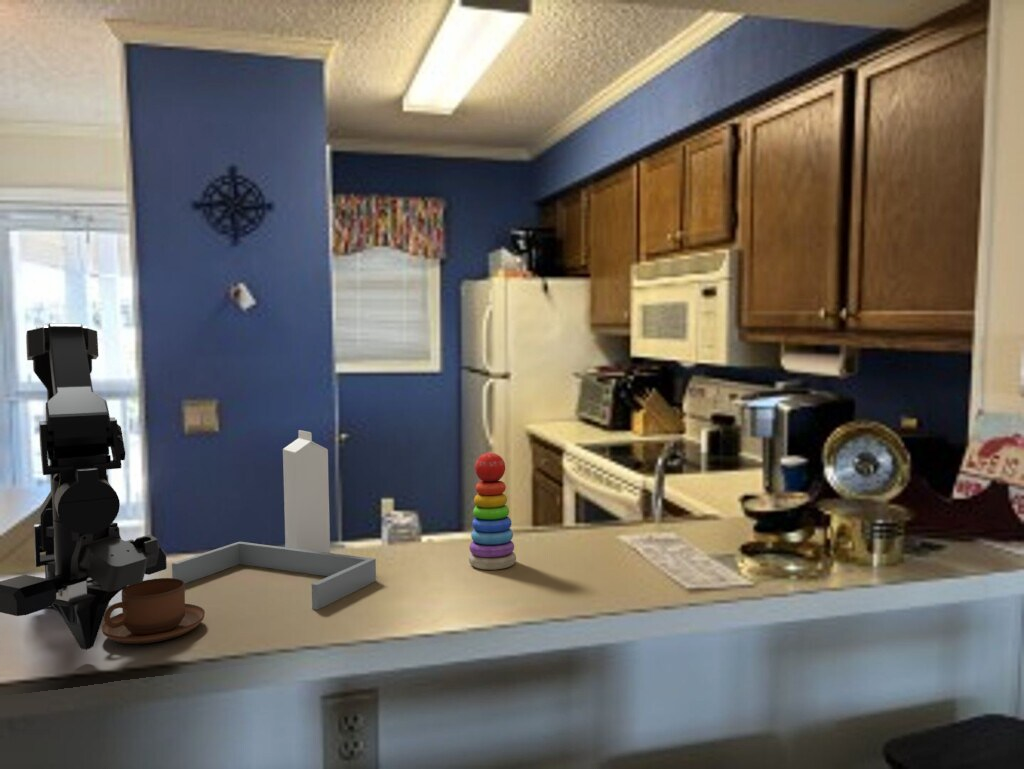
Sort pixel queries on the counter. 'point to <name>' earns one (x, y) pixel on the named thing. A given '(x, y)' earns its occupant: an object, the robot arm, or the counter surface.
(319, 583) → the u-shaped low fence
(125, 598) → the cup and saucer
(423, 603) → the counter surface
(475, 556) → the stacking toy
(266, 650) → the counter surface
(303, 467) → the milk
